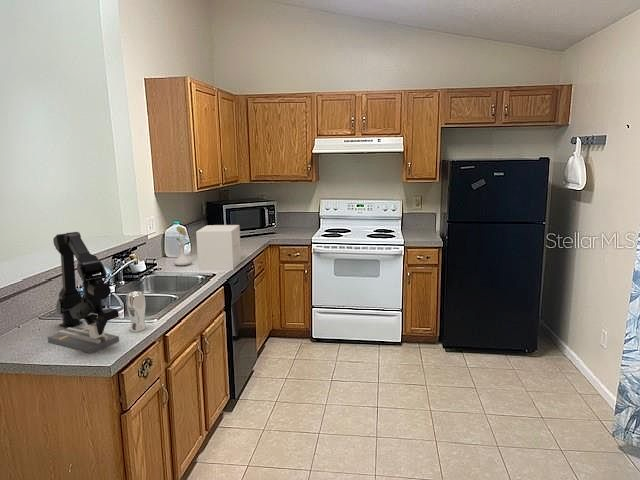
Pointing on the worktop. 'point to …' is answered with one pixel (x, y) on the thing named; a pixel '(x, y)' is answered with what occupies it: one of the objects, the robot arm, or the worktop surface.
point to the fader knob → (94, 331)
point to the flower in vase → (182, 250)
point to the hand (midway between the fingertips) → (97, 333)
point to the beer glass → (136, 310)
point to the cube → (218, 247)
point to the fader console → (82, 340)
